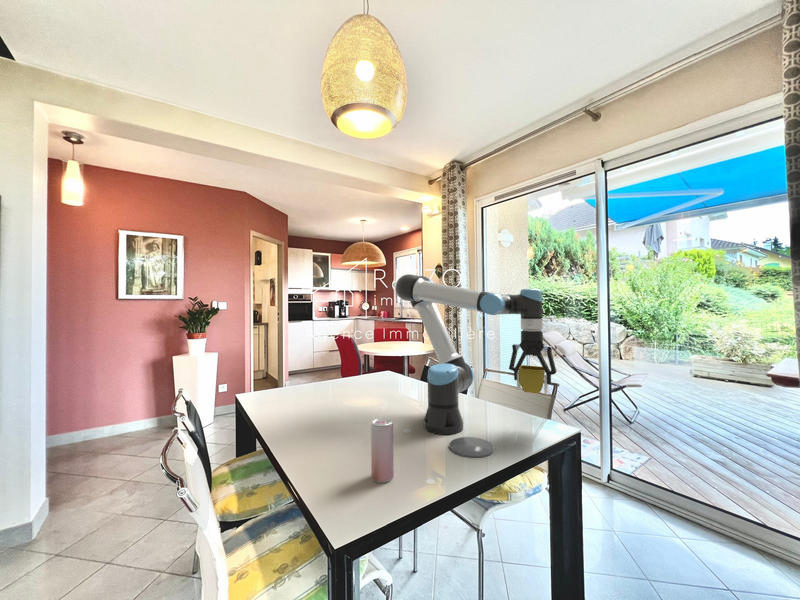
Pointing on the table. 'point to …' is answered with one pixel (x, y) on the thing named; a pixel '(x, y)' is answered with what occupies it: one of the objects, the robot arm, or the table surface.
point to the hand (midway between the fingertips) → (532, 391)
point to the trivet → (471, 447)
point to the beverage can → (382, 450)
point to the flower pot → (531, 378)
